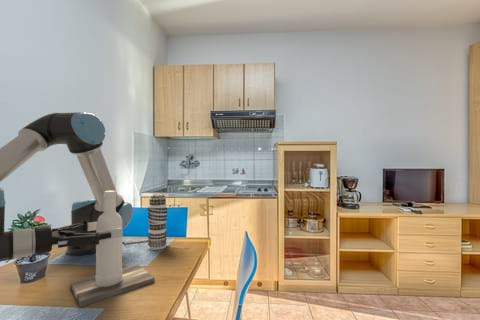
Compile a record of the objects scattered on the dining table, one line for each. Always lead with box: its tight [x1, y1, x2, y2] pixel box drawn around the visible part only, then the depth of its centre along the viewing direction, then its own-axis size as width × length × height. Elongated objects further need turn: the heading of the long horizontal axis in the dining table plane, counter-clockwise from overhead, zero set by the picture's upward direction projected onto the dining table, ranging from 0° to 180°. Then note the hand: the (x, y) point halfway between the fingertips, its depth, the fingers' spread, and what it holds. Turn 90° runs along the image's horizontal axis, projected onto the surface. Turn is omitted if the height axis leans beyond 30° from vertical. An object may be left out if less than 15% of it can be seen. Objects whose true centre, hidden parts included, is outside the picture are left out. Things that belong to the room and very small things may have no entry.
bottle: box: [95, 190, 123, 287], centre depth 84 cm, size 8×8×30 cm
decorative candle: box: [146, 193, 168, 251], centre depth 122 cm, size 9×9×25 cm
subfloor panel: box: [69, 263, 155, 308], centre depth 86 cm, size 15×22×2 cm
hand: (114, 227), depth 86 cm, fingers open, 13 cm apart
